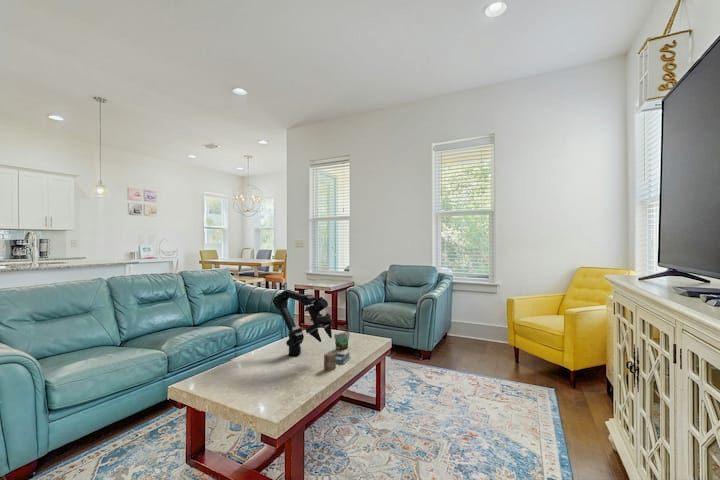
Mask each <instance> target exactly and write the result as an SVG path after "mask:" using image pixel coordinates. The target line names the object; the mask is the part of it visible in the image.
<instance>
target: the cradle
mask: <svg viewBox="0 0 720 480" xmlns="http://www.w3.org/2000/svg"><path fill="white" fill-rule="evenodd" d="M335 354H336V365H337V364H338V365H345V364H346V363H347V362H348V361H349V360H350V359H351V358H352V356H351V355H350V352H347V353H335Z"/></svg>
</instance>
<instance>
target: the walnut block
mask: <svg viewBox="0 0 720 480" xmlns="http://www.w3.org/2000/svg"><path fill="white" fill-rule="evenodd" d="M336 366H337V363H336V353H333V352H328V353H325V354H323V370H325V371H327V372H331V371H334V370H336V369H337V367H336Z"/></svg>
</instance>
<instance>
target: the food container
mask: <svg viewBox="0 0 720 480" xmlns="http://www.w3.org/2000/svg"><path fill="white" fill-rule="evenodd" d="M350 336H351V334H350V331H349V330H345V332H339V334H334V336H333V338H334V341H335V342H334V343H335V350H338V351H343V350H348V348H349V339H350Z"/></svg>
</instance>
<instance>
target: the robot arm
mask: <svg viewBox="0 0 720 480" xmlns="http://www.w3.org/2000/svg"><path fill="white" fill-rule="evenodd" d="M289 299H292V300H294V301H296V302H297V301H298V302H299V303H300V304H301V305H302V306H305V310H304V312H308V314H309V317H310V319H309V321H310V322H312V325H311V324H310V325H309V326H308V327H306V328H305V333H306V334H308V335H310V336H311V337H313V338H315V340H316V341H318V342H319V343H322V338H321V336H320V334H319V329H320V328H322V327H323V330H324V332H325V333H326V334H327V336H328V338H330V339H332V338H333V337H332V335H333V334H332V327H333V326H334V323H335V321H334V320H333V319H332V314H331V313H330V312H327V313H325V315H323V314H322V313H320V312H321V311H323V310H325V309H326V308H328V307H329V303H328V301H327V300H326V299H325V298H323V296H320V297H318V298H316V297H315V296H314V295H313V294H303V293H300V292H296V291H294V290H291V289H284V290H283V291H282V292H280V293H279V294H277V295H276V296H274V297H273V299H272V303H273V305H274V307H275V308H276V309H277V310H279V312H280V314H281V316H282V318H283V321H284V323H285V325H286V327H287V329H288V339H287V340H286V342H285V343H286V346H288V353H287V356H288V357H289V356H290V357H299V356H300V355H301V353H302V346H301V344H303V342H304V338H305V335H304V332H303V331H302V330H303V329H302V328H301V327H300V328H298V326H296V322H295V321H294V318H293V317H292V314H291V312H290V310H289V307H288V302H289V301H288V300H289Z"/></svg>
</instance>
